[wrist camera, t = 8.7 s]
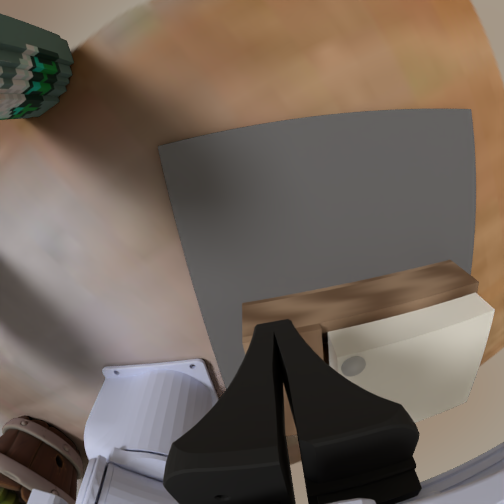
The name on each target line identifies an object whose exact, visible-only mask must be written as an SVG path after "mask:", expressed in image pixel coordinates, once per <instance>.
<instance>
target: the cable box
mask: <svg viewBox="0 0 504 504" xmlns="http://www.w3.org/2000/svg"><path fill="white" fill-rule="evenodd" d="M478 284H479V282H478V281H477V280H476V279H475V278H473V277H472V276H471V275H470V274H468V273H467V272H466V271H465V270H463V269H462V268H461V267H459V266H458V265H457V264H455V263H454V262H453V261H452V260H447V261H443V262H439V263H434V264H430V265H426V266H422V267H418V268H414V269H409V270H405V271H401V272H396V273H392V274H388V275H383V276H379V277H374V278H370V279H365V280H360V281H356V282H351V283H346V284H341V285H336V286H331V287H327V288H322V289H316V290H311V291H306V292H301V293H296V294H290V295H285V296H280V297H274V298H269V299H263V300H257V301H252V302H246V303H242V344H243V347H244V351H245V355H246V352H247V350H248V348H249V345H250V342H251V339H252V336H253V332H254V327H255V326H256V325H257V324H262V323H268V322H273V321H279V320H284V319H289V320H291V321H292V323H293V325H294V327H295V328H296V330H297V331H298V333H299V334H300V335H301V337H302V338H303V339H304V340H305V342H306V343H307V344H308V345H309V346H310V347H311V348H312V350H313V351H314V352H315V353H316V354H317V355H318V356H319V357H320V358H321V359H323V360H324V361H325V362H326V363H327V364H328V365H329V349H328V332H329V331H334V330H339V329H343V328H348V327H352V326H357V325H361V324H365V323H369V322H373V321H377V320H382V319H386V318H389V317H393V316H397V315H401V314H405V313H408V312H412V311H416V310H419V309H423V308H426V307H430V306H433V305H437V304H440V303H444V302H447V301H450V300H453V299H457V298H460V297H463V296H466V295H469V294H472V293H475V292H476V293H477V290H478ZM283 389H284V413H285V433H286V436H291V435H296V434H297V431H296V427H295V423H294V419H293V416H292V412H291V409H290V405H289V401H288V398H287V394H286V391H285V387H284V383H283Z"/></svg>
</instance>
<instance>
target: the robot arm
mask: <svg viewBox="0 0 504 504" xmlns="http://www.w3.org/2000/svg"><path fill="white" fill-rule="evenodd" d="M191 364H194V365H195V366H192V365H191ZM117 371H118V372H117ZM102 373H103V375H104V376H105V378H106V379H105V381H104V383H103V385H102V387H101V390H100V392H99V394H98V397H97V399H96V401H95V403H94V406H93V408H92V410H91V413H90V415H89V418H88V420H87V423H86V426H85V431H84V445H85V451H86V454H87V457H88V459H89V463H88V466H87V469H86V472H85V475H84V478H83V481H82V484H81V487H80V490H79V493H78V497H77V500H76V503H75V504H295V497H294V491H293V483H292V477H291V470H290V462H289V456H288V449H287V442H286V433H285V413H284V389H283V383H284V387H285V391H286V394H287V398H288V401H289V405H290V409H291V412H292V416H293V419H294V423H295V427H296V431H297V436H298V442H299V448H300V454H301V460H302V465H303V472H304V478H305V484H306V490H307V497H308V503H309V504H504V442H503V443H501V444H499V445H498V446H496V447H494V448H492V449H491V450H489V451H487V452H485V453H483V454H481V455H480V456H478V457H476V458H474V459H472V460H470V461H468V462H466V463H464V464H462V465H460V466H457V467H455V468H453V469H451V470H449V471H447V472H445V473H442V474H440V475H437V476H435V477H433V478H430V479H428V480H425V481H423V482H419V480H418V477H417V474H416V472H415V468H416V463H415V461H414V459H413V453H414V451H415V447H416V445H417V442H418V439H419V432H418V429H417V427H416V424H415V423H414V421H413V419H412V418H411V416H410V415H409V414H408V412H407V411H406V410H405V408H404V407H403V406H402V405H401V404H399V403H396V402H393V401H390V400H388V399H385V398H382V397H379V396H377V395H375V394H373V393H371V392H369V391H367V390H365V389H363V388H361V387H360V386H358V385H356V384H354V383H353V382H351V381H349V380H348V379H346V378H345V377H344V376H342V375H341V374H339V373H338V372H337V371H335V370H334V369H333V368H332V367H330V366H329V365H328V364H327V363H326V362H325V361H324V360H323V359H321V358H320V357H319V356H318V355H317V354H316V353H315V352H314V351H313V350H312V348H311V347H310V346H309V345H308V344H307V343H306V342H305V340H304V339H303V338H302V337H301V335H300V334H299V333H298V331H297V330H296V328H295V327H294V325H293V323H292V321H291V320H289V319H284V320H279V321H273V322H268V323H262V324H257V325H256V326H255V327H254V332H253V336H252V339H251V342H250V345H249V348H248V350H247V352H246V355H245V357H244V359H243V361H242V363H241V365H240V367H239V369H238V371H237V373H236V375H235V377H234V378H233V380H232V382H231V383H230V385H229V386H228V388H227V389H226V391H225V392H224V394H223V395H222V396H221V397H220V399H218V396H217V393H216V391H215V388H214V385H213V383H212V380H211V377H210V375H209V372H208V369H207V366H206V364H205V362H204V361H203V360H202V359H191V360H182V361H172V362H162V363H151V364H139V365H125V366H108V367H104V368H103V370H102ZM27 504H68V503H67V502H66V501H65V500H64V499H62V498H61V497H59V496H57V495H55V494H52V493H48V492H45V491H42V490H38V489H32V492H31V494H30V497H29V500H28V502H27Z"/></svg>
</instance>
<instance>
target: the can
mask: <svg viewBox="0 0 504 504" xmlns="http://www.w3.org/2000/svg"><path fill="white" fill-rule="evenodd" d="M73 63H74V61H73V58H72V55H71V52H70V49H69V46H68V43H67V41H66V40H64V39H61V38H60V36H59V35H57V34H54V33H52V32H49V31H47V30H44V29H42V28H39V27H36V26H34V25H31V24H29V23H26V22H23V21H20V20H17V19H14V18H12V17H9V16H6V15H3V14H0V120H5V119H20V118H30V117H39V116H41V115H42V114H43V113H45V112H46V111H47V110H49V109H50V108H51V107H53V106H54V105H55V104H57V103H58V102H59V99H58V96H60V95H61V94H63V93H64V92H65V91H67V90H66V87H65V86H66V85H67V84H69V80H68V78H69V77H70V76H72V72H71V69H70V65H71V64H73Z"/></svg>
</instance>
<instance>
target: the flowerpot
mask: <svg viewBox="0 0 504 504" xmlns="http://www.w3.org/2000/svg"><path fill="white" fill-rule="evenodd" d="M2 433H3V435H2V436H1V437H0V504H27V502H28V500H29V497H30V494H31V492H32V489H38V490H42V491H45V492H48V493H52V494H55V495H57V496H59V497H61V498H62V499H64V500H65V501H66V502H67V503H68V504H75V503H76V491H77V480H78V479H80V478H81V477H82V474H83V473H84V470H83V463H82V460H81V458H80V453H79V451H78V450H76V447H75V445H74V443H73V442H72V441H71V440H70V439H69V438H67V437H66V436H65V435H64V434H63V433H61V432H60V431H59V430H57V429H56V428H54V427H50V428H49V425H48V424H47V423H45V422H43V421H41V420H30V418H29V417H28V416H22V417H19V418H13V419H11V420H10V421H8V422H7V423H6V424H5V425H4V426H3V428H2Z"/></svg>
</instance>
